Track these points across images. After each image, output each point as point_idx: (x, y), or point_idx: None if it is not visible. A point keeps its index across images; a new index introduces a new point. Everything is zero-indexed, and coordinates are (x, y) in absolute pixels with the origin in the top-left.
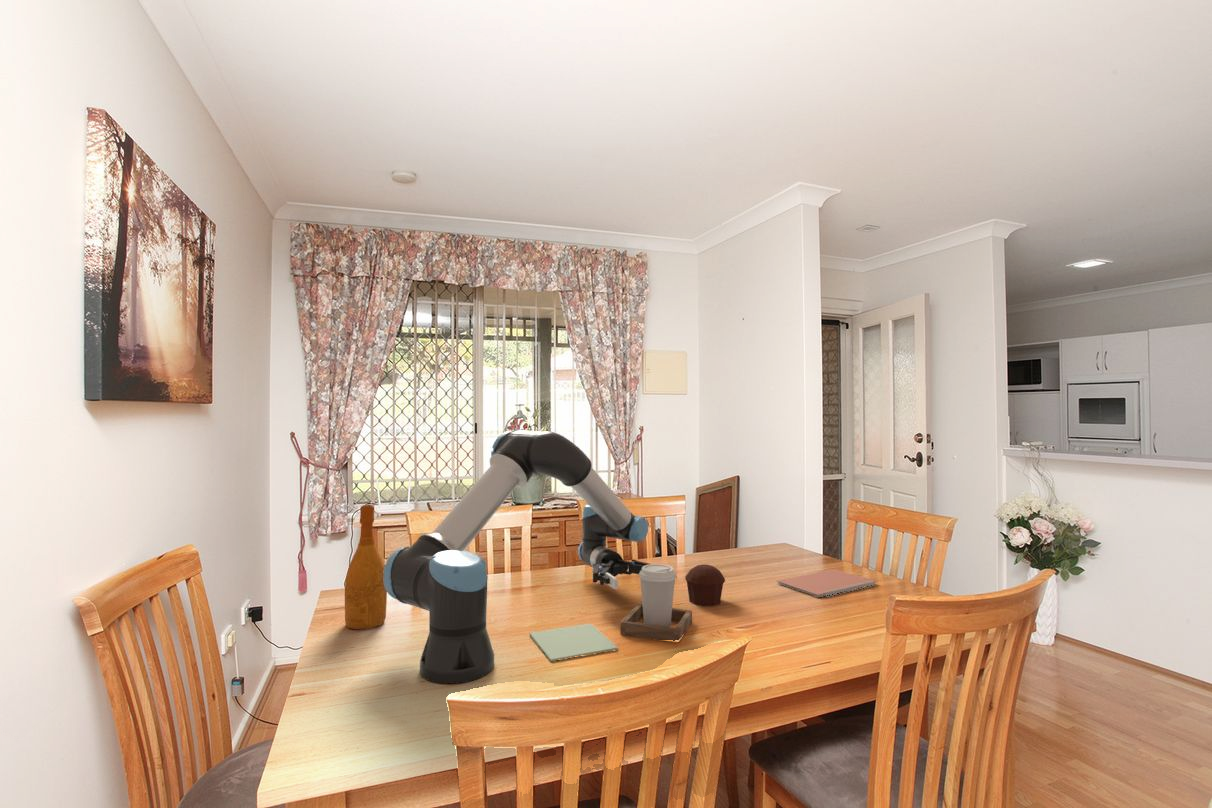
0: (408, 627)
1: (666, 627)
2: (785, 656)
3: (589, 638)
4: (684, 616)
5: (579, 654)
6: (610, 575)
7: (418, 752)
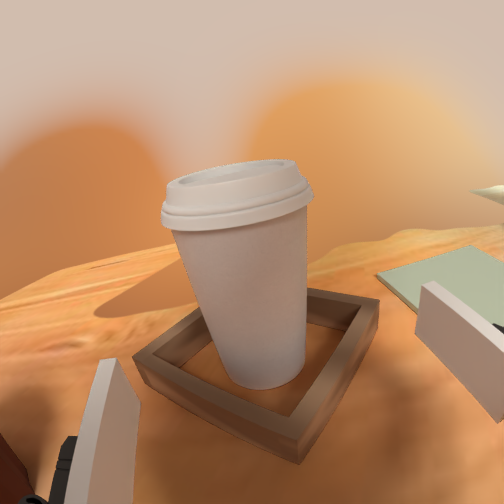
0: None
1: None
2: (117, 274)
3: None
4: (180, 328)
5: (438, 256)
6: (482, 323)
7: (480, 191)
